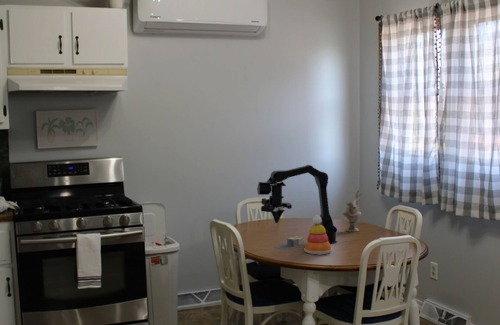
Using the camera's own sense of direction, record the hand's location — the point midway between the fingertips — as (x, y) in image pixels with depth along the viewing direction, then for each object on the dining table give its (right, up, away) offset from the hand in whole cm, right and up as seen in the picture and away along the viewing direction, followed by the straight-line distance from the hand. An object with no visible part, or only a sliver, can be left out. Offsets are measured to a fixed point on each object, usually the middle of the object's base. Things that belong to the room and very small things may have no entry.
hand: (276, 222), depth 297 cm
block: (+8, -11, -1) cm, 13 cm away
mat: (+8, -13, 0) cm, 15 cm away
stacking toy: (+21, -14, -14) cm, 29 cm away
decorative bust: (+48, -9, +37) cm, 61 cm away
